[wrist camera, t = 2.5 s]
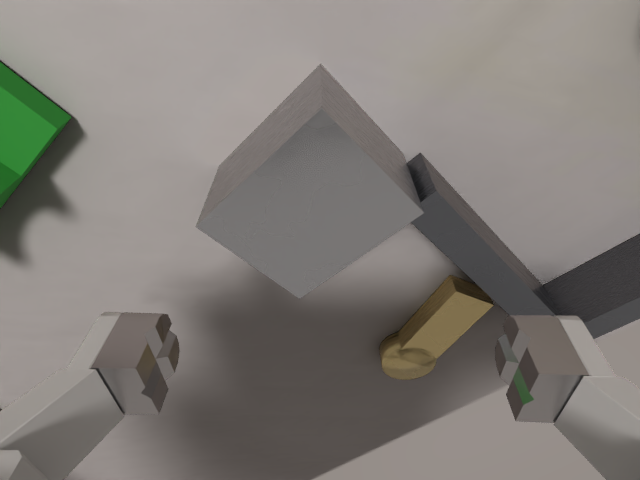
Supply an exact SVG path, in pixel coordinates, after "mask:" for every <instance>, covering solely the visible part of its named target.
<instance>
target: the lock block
mask: <svg viewBox="0 0 640 480" xmlns="http://www.w3.org/2000/svg"><path fill="white" fill-rule="evenodd" d="M422 214H424V211H423V208H422V205H421V202H420V200H419V197H418V194H417V191H416V188H415V186H414V183H413V180H412V177H411V174H410V171H409V169H408V166H407V163H406V160H405V157H404V155H403V153H402V152H401V151H400V150H399V149H398V147H397V146H396V145H395V144H394V143H393V142H392V141H391V140H390V139H389V138H388V136H387V135H386V134H385V133H384V132H383V131H382V130H381V129H380V128H379V127H378V126H377V124H376V123H375V122H374V121H373V120H372V119H371V118H370V117H369V116H368V115H367V114H366V112H365V111H364V110H363V109H362V108H361V107H360V106H359V105H358V104H357V103H356V101H355V100H354V99H353V98H352V97H351V96H350V95H349V94H348V93H347V92H346V91H345V89H344V88H343V87H342V86H341V85H340V84H339V83H338V82H337V81H336V80H335V79H334V77H333V76H332V75H331V74H330V73H329V72H328V71H327V70H326V69H325V68H324V66H323V65H322V64H320V65H319V66H318V67H317V68H316V69H315V70H314V71H313V72H312V73H311V74H310V75H309V76H308V77H307V78H306V79H305V80H304V81H303V82H302V83H301V84H300V85H299V86H298V87H297V88H296V89H295V90H294V91H293V92H292V93H291V94H290V95H289V96H288V97H287V98H286V99H285V100H284V101H283V102H282V103H281V104H280V105H279V106H278V107H277V108H276V109H275V110H274V111H273V112H272V113H271V114H270V115H269V116H268V117H267V118H266V119H265V120H264V121H263V122H262V123H261V124H260V125H259V126H258V127H257V128H256V129H255V130H254V131H253V132H252V133H251V134H250V135H249V136H248V137H247V138H246V139H245V140H244V141H243V142H242V143H241V144H240V145H239V146H238V147H237V148H236V149H235V150H234V151H233V152H232V153H231V154H230V155H229V156H228V157H227V158H226V159H225V160H224V161H223V162H222V163H221V164H220V165H219V168H218V170H217V173H216V175H215V178H214V181H213V183H212V186H211V188H210V191H209V193H208V196H207V199H206V201H205V204H204V206H203V209H202V212H201V214H200V217H199V219H198V222H197V224H196V227H197V228H198V229H200V230H201V231H202V232H204V233H205V234H207V235H208V236H210V237H211V238H212V239H214V240H215V241H217V242H218V243H220V244H221V245H223V246H224V247H225V248H227V249H228V250H230V251H231V252H233V253H234V254H235V255H237V256H238V257H240V258H241V259H243V260H244V261H246V262H247V263H248V264H250V265H251V266H253V267H254V268H256V269H257V270H258V271H260V272H261V273H263V274H264V275H266V276H267V277H269V278H270V279H271V280H273V281H274V282H276V283H277V284H279V285H280V286H281V287H283V288H284V289H286V290H287V291H289V292H290V293H291V294H293V295H294V296H296V297H297V298H299V299H300V298H302V297H303V296H305V295H306V294H308V293H309V292H310V291H312V290H313V289H315V288H316V287H318V286H319V285H321V284H322V283H323V282H325V281H326V280H328V279H329V278H331V277H332V276H334V275H335V274H337V273H338V272H339V271H341V270H342V269H344V268H345V267H347V266H348V265H350V264H351V263H352V262H354V261H355V260H357V259H358V258H360V257H361V256H363V255H364V254H366V253H367V252H368V251H370V250H371V249H373V248H374V247H376V246H377V245H379V244H380V243H381V242H383V241H384V240H386V239H387V238H389V237H390V236H392V235H393V234H395V233H396V232H397V231H399V230H400V229H402V228H403V227H405V226H406V225H408V224H409V223H410V222H412V221H413V220H415V219H416V218H418V217H419V216H421V215H422Z"/></svg>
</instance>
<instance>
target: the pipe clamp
mask: <svg viewBox="0 0 640 480" xmlns="http://www.w3.org/2000/svg"><path fill="white" fill-rule="evenodd" d="M71 118H72V117H71V116H69V115H68V114H67V113H66V112H64V111H63V110H62V109H60V108H59V107H58V106H57V105H55V104H54V103H53V102H51V101H50V100H49V99H47V98H46V97H45V96H44V95H42V94H41V93H40V92H38V91H37V90H36V89H34V88H33V87H32V86H31V85H29V84H28V83H27V82H25V81H24V80H23V79H21V78H20V77H19V76H18V75H16V74H15V73H14V72H12V71H11V70H10V69H9V68H7V67H6V66H5V65H3V64H2V63H1V62H0V209H1V207H2V206H3V205H4V203H5V202H6V201H7V200H8V198H9V197H10V196H11V194H12V193H13V192H14V191H15V189H16V188H17V187H18V186H19V184H20V183H21V182H22V180H23V179H24V178H25V177H26V175H27V174H28V173H29V171H30V170H31V169H32V168H33V166H34V165H35V164H36V162H37V161H38V160H39V159H40V157H41V156H42V155H43V154H44V152H45V151H46V150H47V148H48V147H49V146H50V145H51V143H52V142H53V141H54V139H55V138H56V137H57V136H58V134H59V133H60V132H61V130H62V129H63V128H64V127H65V125H66V124H67V123H68V122H69V120H70V119H71Z"/></svg>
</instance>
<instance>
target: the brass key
mask: <svg viewBox="0 0 640 480" xmlns="http://www.w3.org/2000/svg"><path fill="white" fill-rule="evenodd" d="M492 306H494V304H493V302H492V300H491V298H490V296H489V295H488V294H487V293H485V292H484V291H483V290H482V289H481V288H480V287H479V286H478V285H475V284H473V283H470V282H468V281H465V280H462V279H460V278H457V277H454V276H452V275H449V277H448V278H447V279H446V280H445V281H444V282H443V283H442V284H441V285H440V287H439V288H438V289H437V290H436V291H435V292H434V293H433V294H432V295H431V296H430V298H429V299H428V300H427V301H426V302H425V303H424V304H423V305H422V306H421V307H420V309H419V310H418V311H417V312H416V313H415V314H414V315H413V316H412V317H411V318H410V320H409V321H408V322H407V323H406V324H405V325H404V326H403V327H402V328H401V330H400V331H399V332H397V333H394V334H392V335H390V336H388V337H387V338H385V339H384V340H383V341H382V343H381V345H380V349H379V350H380V357H381V364H382V369H383V371H384V373H385V374H387V375H388V376H390V377H392V378H395V379H400V380H410V379H416V378H419V377H422V376H424V375H426V374H428V373H429V372H431V371H432V370H433V368H434V367H435V365H436V359H437V358H438V357H439V356H440V355H441V354H443V353H444V352H445V351H446V350H447V349H448V348H449V347H450V346H451V345H452V344H453V343H454V342H455V341H456V340H457V339H458V338H460V337H461V336H462V335H463V334H464V333H465V332H466V331H467V330H468V329H469V328H470V327H471V326H472V325H473V324H474V323H475V322H477V321H478V320H479V319H480V318H481V317H482V316H483V315H484V314H485V313H486V312H487V311H488V310H489V309H490V308H491V307H492Z"/></svg>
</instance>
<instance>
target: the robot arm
mask: <svg viewBox="0 0 640 480" xmlns="http://www.w3.org/2000/svg"><path fill="white" fill-rule="evenodd" d="M171 324H172V323H171V321H170V318H169V316H168V314H158V313H128V312H124V313H121V312H104V313H103V314H102V315H100V316H99V317H98V318H97V320H96V322H95V323H94V325H93V326H92V328H91V330H90V331H89V333H88V335H87V336H86V338H85V339H84V341H83V343H82V344H81V346H80V348H79V349H78V351H77V352H76V354H75V356H74V357H73V359H72V361H71V362H70V364H69V366H68V367H67V369H59V370H58V371H57V372H55V373H54V374H52V375H51V376H49V377H48V378H47V379H45V380H44V381H42V382H41V383H40V384H38V385H37V386H35V387H34V388H32V389H31V390H30V391H28V392H27V393H25V394H24V395H22V396H21V397H20V398H18V399H17V400H15V401H14V402H13V403H11V404H10V405H8V406H7V407H5V408H4V409H3V410H1V411H0V480H64V478H65V477H66V476H67V475H68V474H69V473H70V472H71V471H72V470H73V469H74V468H75V467H76V466H77V465H78V464H79V463H80V462H81V461H82V460H83V459H84V458H85V457H86V456H87V455H88V454H89V453H90V452H91V451H92V450H93V449H94V447H95V446H96V445H97V444H98V443H99V442H100V441H101V440H102V439H103V438H104V437H105V436H106V435H107V434H108V433H109V432H110V431H111V430H112V429H113V428H114V427H115V426H116V425H117V424H118V423H119V422H120V421H121V420H122V419H123V418H124V415H134V414H159V413H160V410H161V408H162V405H163V402H164V400H165V397H166V394H167V392H168V386H167V384H166V381H165V380H167V379H168V378H169V377H170V376H171V375H172V374H173V373H174V372H175V370H176V367H177V364H178V358H179V351H180V350H179V342H178V339H177V336H176V335H175V334H174V333H172V332H171V331H170V330H169V329H170V326H171ZM503 328H504V331H505V334H504V335H502V336H501V337H499V338H498V340H497V344H496V347H495V361H496V366H497V370H498V373H499V376H500V378H501V379H503V380H504V381H505V382H506V383H507V384H508V385H509V389H508V391H507V393H506V396H507V399H508V401H509V404H510V407H511V410H512V412H513V415H514V418H515V421H522V422H523V421H524V422H545V423H555V424H554V426H555V427H556V428H557V429H558V430H559V431H560V432H561V433H562V434H563V435H564V436H565V437H566V438H567V439H568V440H569V441H570V442H571V443H572V444H573V445H574V447H575V448H576V449H577V450H578V451H579V452H580V453H581V454H582V455H583V456H584V457H585V458H586V459H587V460H588V461H589V462H590V463H591V464H592V465H593V466H594V467H595V468H596V470H597V471H598V472H600V474H601V475H602V476H603V477H604V478H605V479H606V480H640V388H639V387H637V386H636V385H635V384H633V383H632V382H630V381H629V380H628V379H626V378H625V377H618V376H616V375H615V373H614V372H613V370H612V368H611V367H610V365H609V364H608V362H607V360H606V359H605V357H604V355H603V354H602V352H601V350H600V349H599V348H598V346H597V344H596V342H595V341H594V339H593V337H592V336H591V334H590V333H589V331H588V329H587V328H586V326H585V325H584V323H583V321H582V320H581V319H580V318H579V317H578V316H551V315H509V316H508V317H507V318H506V319H505V321H504V324H503Z"/></svg>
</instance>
